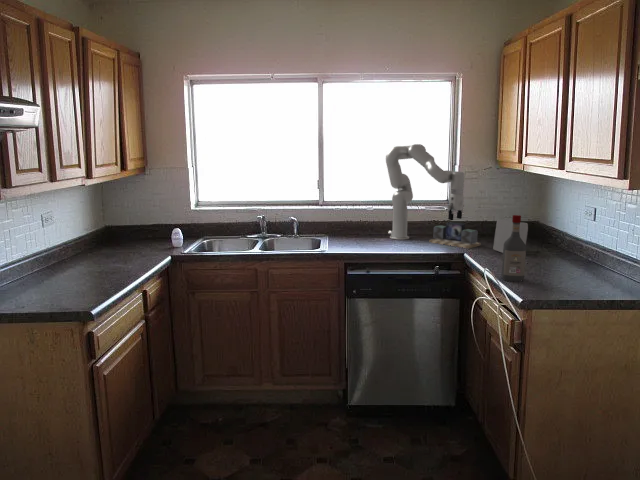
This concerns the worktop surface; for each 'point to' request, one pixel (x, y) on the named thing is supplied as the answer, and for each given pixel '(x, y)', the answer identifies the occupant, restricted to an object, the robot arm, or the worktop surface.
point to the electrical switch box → (507, 233)
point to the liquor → (514, 254)
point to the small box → (454, 231)
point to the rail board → (466, 241)
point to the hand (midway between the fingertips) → (454, 219)
